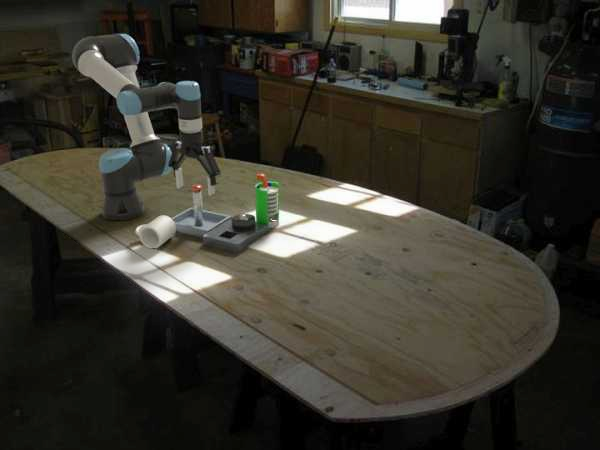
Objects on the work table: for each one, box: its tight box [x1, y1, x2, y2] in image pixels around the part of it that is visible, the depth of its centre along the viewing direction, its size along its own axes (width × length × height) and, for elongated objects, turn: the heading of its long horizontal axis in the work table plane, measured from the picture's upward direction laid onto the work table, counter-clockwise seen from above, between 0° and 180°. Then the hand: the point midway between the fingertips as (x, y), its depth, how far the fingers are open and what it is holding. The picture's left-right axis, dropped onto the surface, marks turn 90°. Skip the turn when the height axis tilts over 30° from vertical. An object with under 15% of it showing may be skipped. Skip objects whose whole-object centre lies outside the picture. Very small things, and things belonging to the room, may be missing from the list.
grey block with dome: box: [202, 213, 269, 254], centre depth 201 cm, size 14×18×7 cm
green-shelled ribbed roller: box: [254, 173, 280, 229], centre depth 209 cm, size 9×8×18 cm
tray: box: [170, 207, 233, 239], centre depth 211 cm, size 18×14×3 cm
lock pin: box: [189, 183, 204, 226], centre depth 208 cm, size 4×4×14 cm
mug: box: [134, 214, 177, 250], centre depth 199 cm, size 12×10×8 cm
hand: (195, 190), depth 206 cm, fingers open, 13 cm apart
